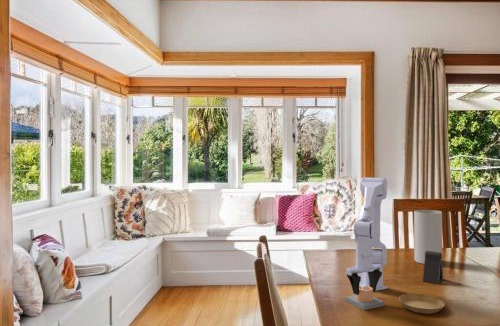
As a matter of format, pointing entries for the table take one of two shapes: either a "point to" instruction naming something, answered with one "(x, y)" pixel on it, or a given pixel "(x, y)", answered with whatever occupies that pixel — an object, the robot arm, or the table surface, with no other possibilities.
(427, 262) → the phone stand
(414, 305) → the plant saucer
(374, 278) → the robot arm
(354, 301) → the post base
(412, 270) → the table surface
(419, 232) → the cylinder vase
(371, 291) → the ring
